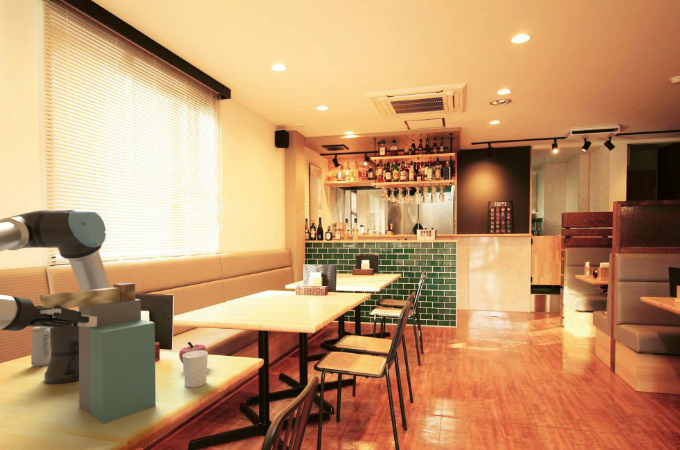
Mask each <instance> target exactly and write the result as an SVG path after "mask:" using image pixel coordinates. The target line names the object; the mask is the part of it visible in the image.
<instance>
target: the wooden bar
mask: <svg viewBox="0 0 680 450" xmlns="http://www.w3.org/2000/svg"><path fill="white" fill-rule="evenodd" d="M135 299H136V283H133V282H118V283H113V285H112V287H111V288H103V289H93V290H84V291H80V290H77V291H75V290H74V291H67V292H66V291H65V292H57V293H49V294H39V306H44V307H45V308H52V309H53V308H54V306H56V305H59V306H61V307H63V308H67V309H73V308H79V307H81V306H89V305H96V304H104V303H111V302H119V301H121V302H122V301H130V300H135Z"/></svg>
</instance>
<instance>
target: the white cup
mask: <svg viewBox="0 0 680 450" xmlns="http://www.w3.org/2000/svg"><path fill="white" fill-rule="evenodd" d="M208 355H209V353H208V351H207V350H206V351H202V350H199V351H191V352H187V353H185V354H183V363H182V366H183V367H182V369H183V376H184V377H183V378H184V386H185V387H186V388H198V387H202V386H205V384H206V383H207V375H208V357H209V356H208Z"/></svg>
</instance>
